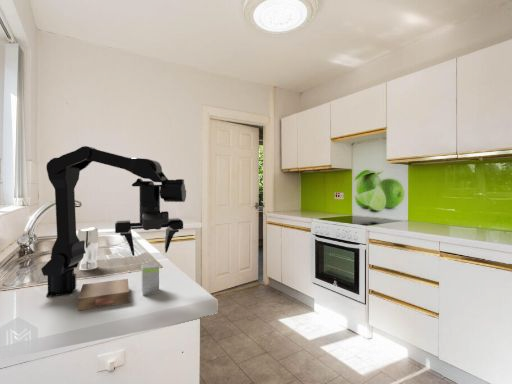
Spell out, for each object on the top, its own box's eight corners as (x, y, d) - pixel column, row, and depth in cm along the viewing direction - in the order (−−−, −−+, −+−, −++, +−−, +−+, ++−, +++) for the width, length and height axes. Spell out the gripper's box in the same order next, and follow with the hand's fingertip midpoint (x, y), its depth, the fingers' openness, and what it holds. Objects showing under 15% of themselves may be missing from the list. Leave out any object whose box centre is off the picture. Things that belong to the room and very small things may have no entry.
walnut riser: (77, 311, 74) (77, 299, 74) (82, 294, 85) (82, 284, 85) (129, 302, 79) (129, 292, 79) (127, 288, 90) (127, 278, 90)
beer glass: (79, 266, 113) (78, 228, 113) (99, 265, 116) (99, 227, 116) (76, 271, 107) (75, 231, 107) (97, 269, 110) (97, 230, 109)
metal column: (142, 295, 84) (142, 268, 84) (141, 290, 88) (141, 264, 88) (159, 293, 86) (158, 266, 86) (157, 288, 90) (157, 262, 90)
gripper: (114, 204, 75) (115, 264, 76) (187, 202, 83) (187, 256, 84) (115, 201, 85) (115, 254, 86) (179, 200, 94) (179, 249, 94)
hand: (150, 253), depth 87 cm, fingers open, 9 cm apart
